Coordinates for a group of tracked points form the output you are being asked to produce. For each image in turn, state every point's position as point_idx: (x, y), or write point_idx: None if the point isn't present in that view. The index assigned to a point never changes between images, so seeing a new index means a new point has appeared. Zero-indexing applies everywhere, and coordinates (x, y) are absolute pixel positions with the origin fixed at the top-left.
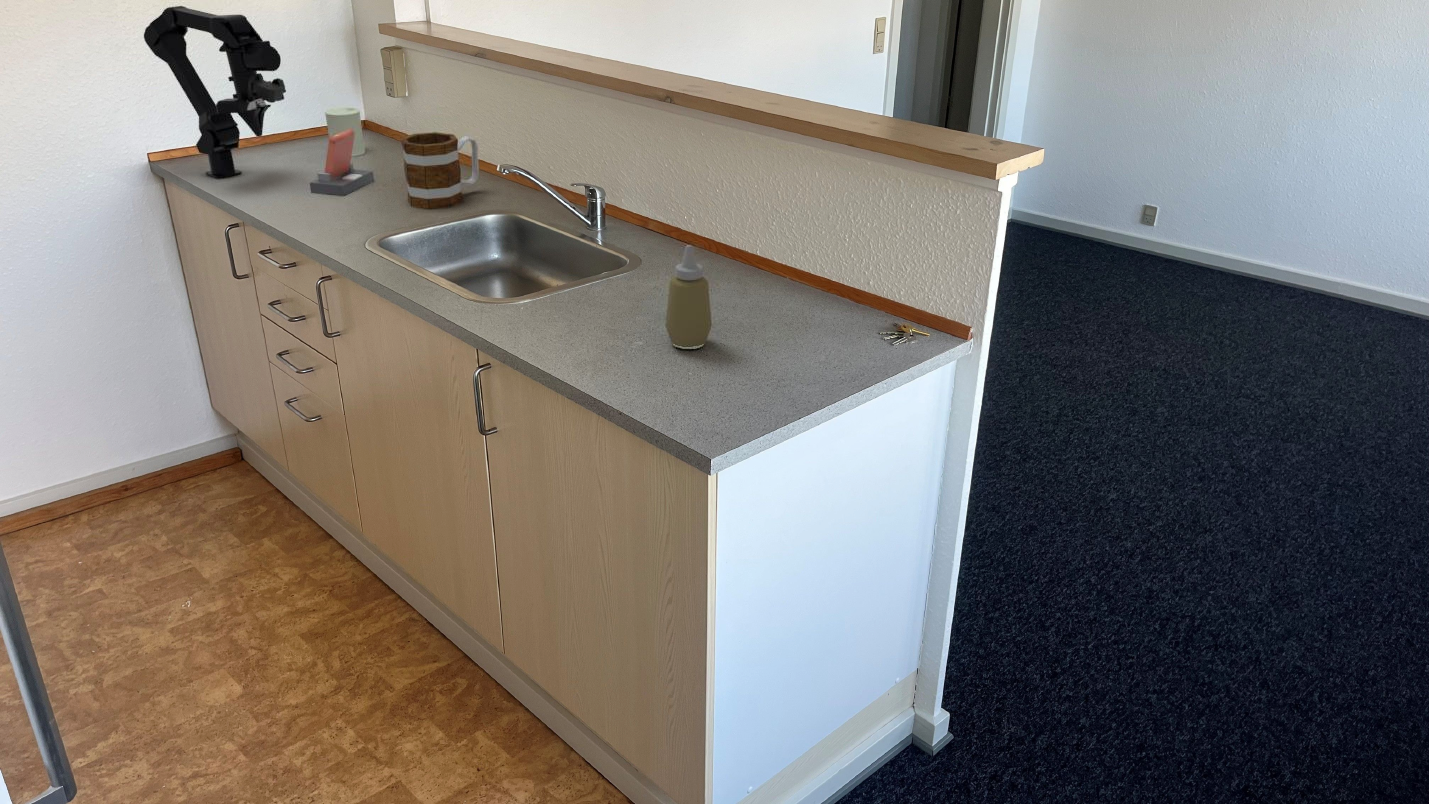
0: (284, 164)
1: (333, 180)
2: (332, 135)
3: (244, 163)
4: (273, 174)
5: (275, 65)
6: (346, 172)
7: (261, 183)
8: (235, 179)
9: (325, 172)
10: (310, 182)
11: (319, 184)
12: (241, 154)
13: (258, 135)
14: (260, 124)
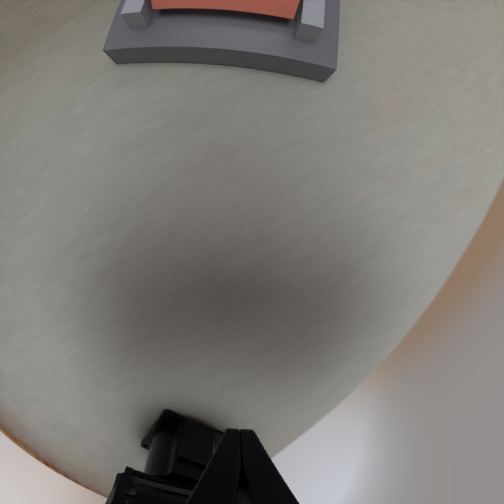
0: (38, 337)
1: None
2: None
3: (81, 427)
4: (130, 327)
5: None
6: None
7: (244, 314)
8: (219, 402)
9: (296, 5)
10: (334, 66)
11: (337, 36)
12: (42, 441)
13: (254, 440)
14: (235, 500)
